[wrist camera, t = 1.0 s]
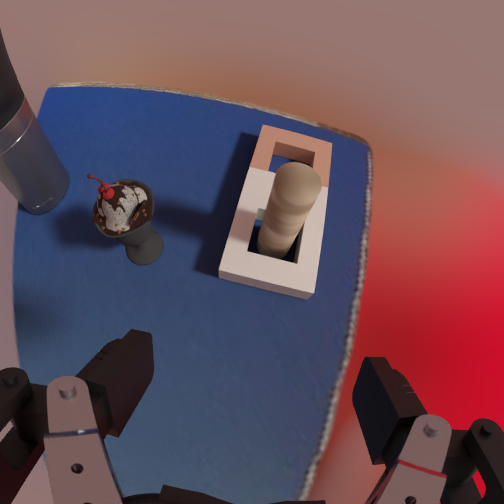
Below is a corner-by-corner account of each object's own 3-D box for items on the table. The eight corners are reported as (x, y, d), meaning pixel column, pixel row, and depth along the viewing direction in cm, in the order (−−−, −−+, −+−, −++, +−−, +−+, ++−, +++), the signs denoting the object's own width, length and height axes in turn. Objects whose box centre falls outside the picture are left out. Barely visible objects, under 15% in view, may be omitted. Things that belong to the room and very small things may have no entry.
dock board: (260, 137, 45) (263, 124, 42) (326, 155, 45) (332, 143, 42) (218, 277, 35) (218, 269, 33) (306, 299, 35) (313, 293, 33)
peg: (250, 237, 38) (266, 169, 25) (278, 225, 39) (305, 157, 26) (266, 265, 37) (290, 207, 24) (294, 252, 38) (330, 192, 25)
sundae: (115, 234, 36) (70, 165, 22) (161, 217, 38) (136, 138, 24) (127, 279, 34) (76, 222, 20) (176, 260, 36) (152, 192, 22)
